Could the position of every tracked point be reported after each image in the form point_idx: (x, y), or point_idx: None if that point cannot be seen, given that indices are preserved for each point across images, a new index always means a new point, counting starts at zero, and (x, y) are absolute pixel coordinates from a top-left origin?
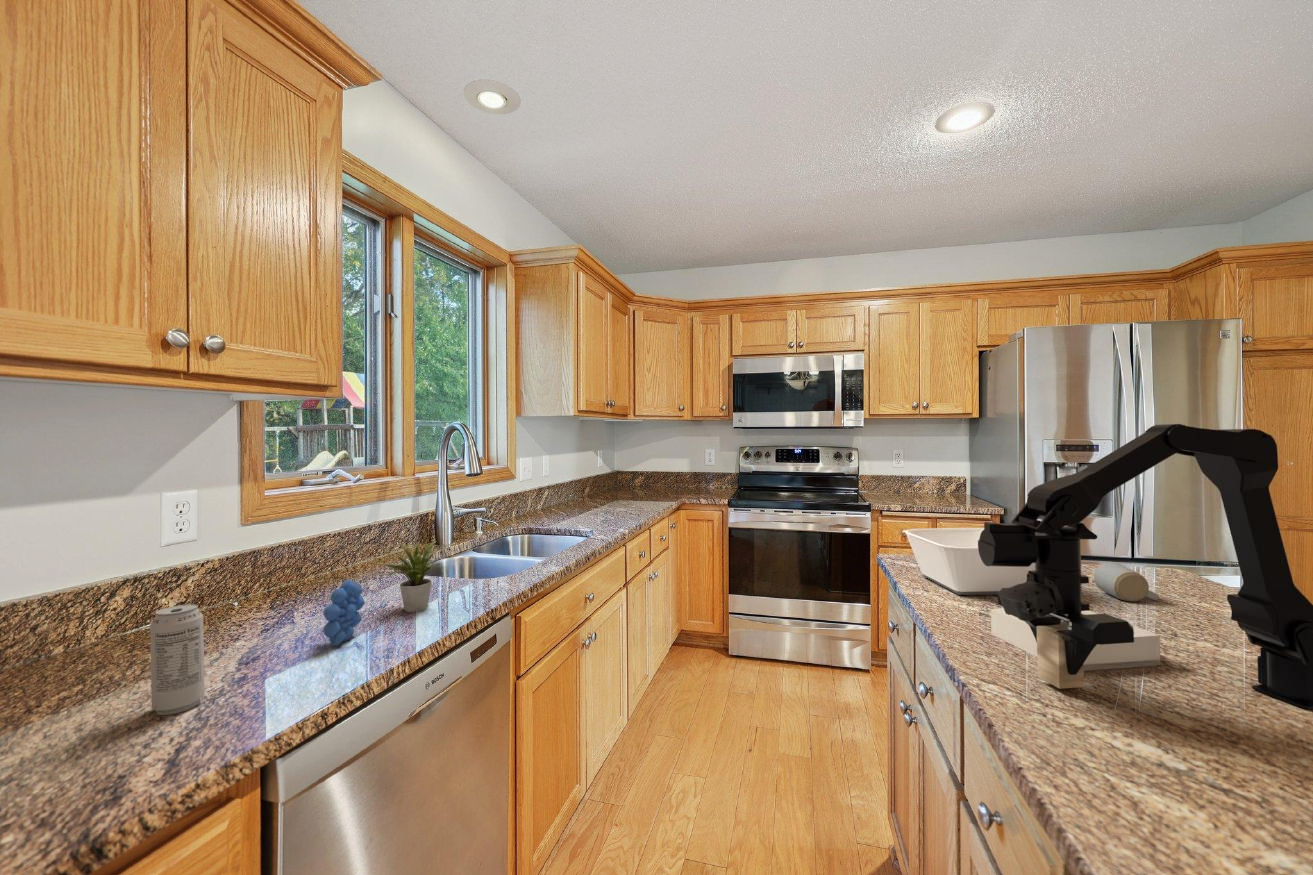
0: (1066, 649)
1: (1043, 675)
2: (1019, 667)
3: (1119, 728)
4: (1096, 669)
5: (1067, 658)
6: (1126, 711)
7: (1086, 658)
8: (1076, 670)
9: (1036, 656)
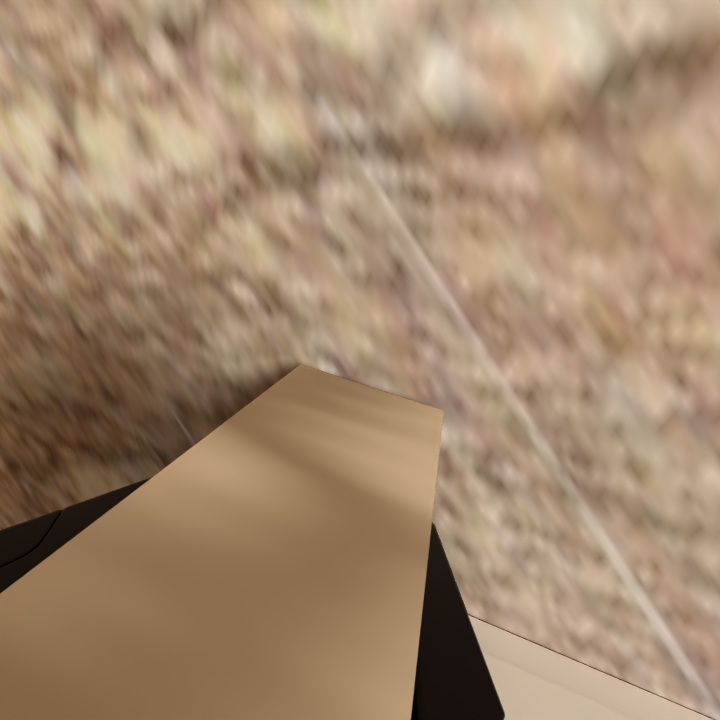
0: (44, 559)
1: (398, 410)
2: (627, 504)
3: (63, 269)
4: None
5: None
6: (155, 426)
7: None
8: None
9: (645, 691)
